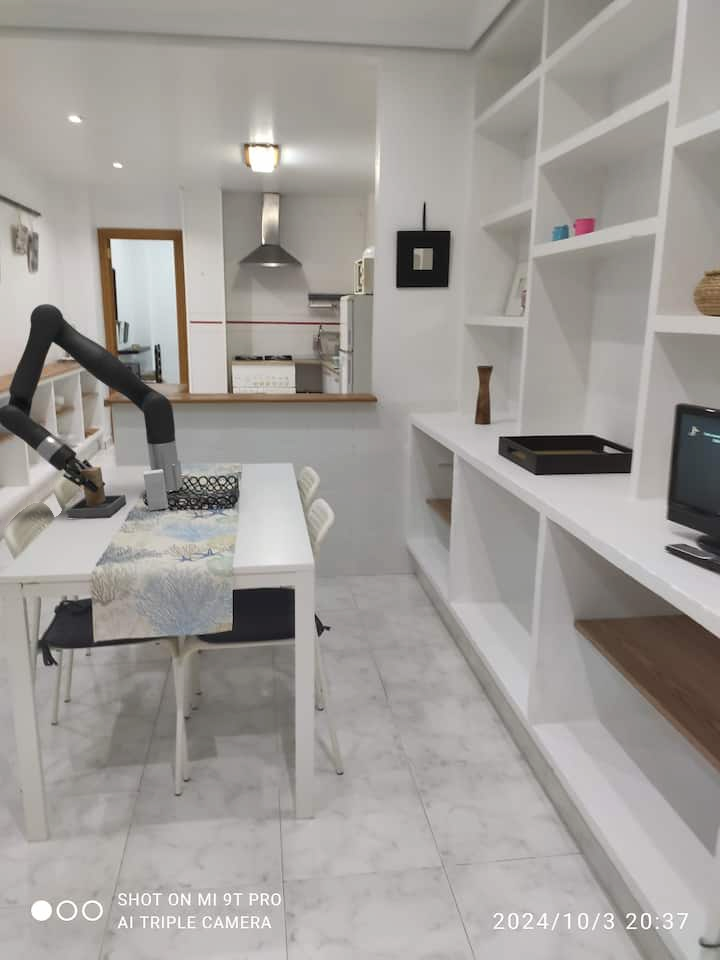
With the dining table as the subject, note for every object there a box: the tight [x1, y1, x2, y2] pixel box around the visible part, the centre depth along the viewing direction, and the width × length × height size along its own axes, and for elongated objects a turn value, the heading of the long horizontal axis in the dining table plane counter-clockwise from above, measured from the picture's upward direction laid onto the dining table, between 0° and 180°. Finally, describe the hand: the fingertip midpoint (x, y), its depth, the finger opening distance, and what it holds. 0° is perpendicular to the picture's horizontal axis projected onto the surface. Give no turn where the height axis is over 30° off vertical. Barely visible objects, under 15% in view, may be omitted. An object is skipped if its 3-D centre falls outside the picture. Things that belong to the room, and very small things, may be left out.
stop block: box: [82, 466, 106, 505], centre depth 219 cm, size 4×4×11 cm
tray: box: [66, 494, 127, 519], centre depth 221 cm, size 13×14×3 cm
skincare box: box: [143, 469, 169, 512], centre depth 220 cm, size 6×4×12 cm
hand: (100, 488), depth 219 cm, fingers closed on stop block, 4 cm apart
